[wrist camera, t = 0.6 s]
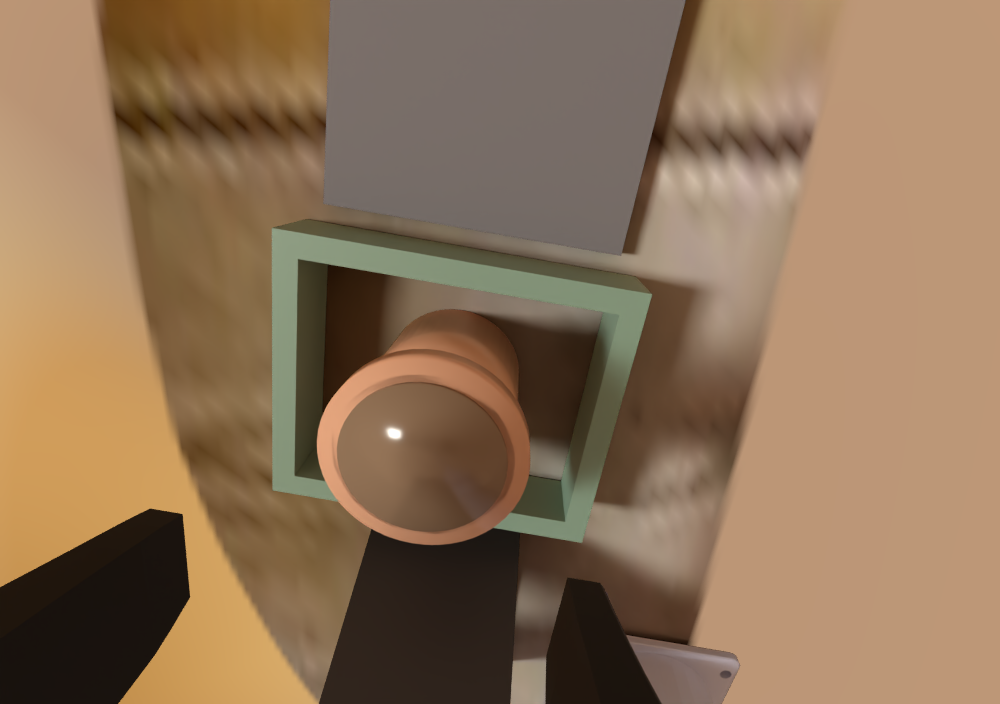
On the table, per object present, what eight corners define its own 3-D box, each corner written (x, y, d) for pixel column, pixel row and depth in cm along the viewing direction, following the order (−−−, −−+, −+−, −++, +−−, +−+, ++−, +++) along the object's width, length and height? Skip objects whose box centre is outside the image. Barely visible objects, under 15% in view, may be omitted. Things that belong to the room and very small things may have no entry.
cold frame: (575, 500, 21) (581, 542, 18) (301, 453, 21) (272, 490, 18) (635, 276, 17) (652, 294, 15) (306, 219, 17) (271, 227, 15)
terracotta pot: (515, 449, 20) (510, 563, 14) (373, 425, 20) (311, 530, 14) (542, 313, 18) (549, 383, 12) (385, 286, 18) (317, 343, 12)
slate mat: (618, 252, 17) (621, 255, 16) (330, 202, 17) (323, 203, 16) (698, -68, 14) (705, -78, 13) (343, -132, 14) (334, -145, 13)
